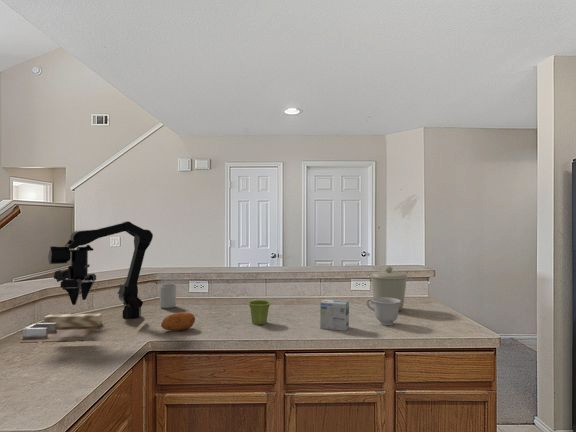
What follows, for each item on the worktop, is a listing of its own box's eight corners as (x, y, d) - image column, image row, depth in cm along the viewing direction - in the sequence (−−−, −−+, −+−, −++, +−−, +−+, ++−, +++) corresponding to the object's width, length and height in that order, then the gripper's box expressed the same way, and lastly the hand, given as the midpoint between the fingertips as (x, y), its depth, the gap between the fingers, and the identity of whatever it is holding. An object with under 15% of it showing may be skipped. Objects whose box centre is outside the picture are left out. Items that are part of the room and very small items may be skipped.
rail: (102, 323, 155) (102, 313, 155) (98, 326, 151) (98, 316, 151) (49, 324, 153) (49, 314, 153) (43, 327, 149) (43, 317, 149)
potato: (196, 331, 151) (196, 312, 151) (161, 334, 146) (162, 315, 146) (193, 326, 157) (193, 309, 157) (160, 329, 152) (160, 311, 153)
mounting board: (104, 325, 158) (104, 321, 158) (83, 341, 137) (83, 336, 137) (50, 326, 156) (50, 322, 156) (19, 342, 135) (19, 338, 135)
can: (171, 309, 188) (171, 284, 188) (157, 308, 189) (157, 283, 189) (178, 306, 195) (178, 282, 195) (164, 305, 196) (165, 281, 197)
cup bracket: (56, 330, 145) (56, 322, 145) (45, 337, 137) (46, 328, 137) (34, 331, 144) (34, 323, 144) (22, 337, 136) (22, 329, 136)
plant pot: (274, 321, 165) (274, 301, 166) (263, 327, 157) (264, 305, 157) (255, 319, 169) (255, 299, 169) (244, 324, 161) (244, 303, 161)
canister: (412, 308, 193) (412, 265, 193) (401, 315, 178) (401, 269, 178) (377, 303, 203) (377, 263, 203) (364, 310, 187) (364, 266, 188)
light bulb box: (349, 327, 158) (349, 300, 158) (346, 331, 152) (346, 303, 152) (323, 324, 161) (323, 298, 162) (319, 328, 155) (319, 301, 155)
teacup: (372, 317, 173) (372, 295, 173) (405, 323, 164) (405, 299, 165) (360, 323, 163) (360, 299, 163) (395, 329, 155) (395, 304, 155)
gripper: (68, 260, 161) (68, 297, 161) (45, 265, 143) (45, 307, 142) (96, 260, 162) (96, 297, 162) (77, 265, 144) (77, 307, 144)
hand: (79, 302), depth 153 cm, fingers open, 9 cm apart
